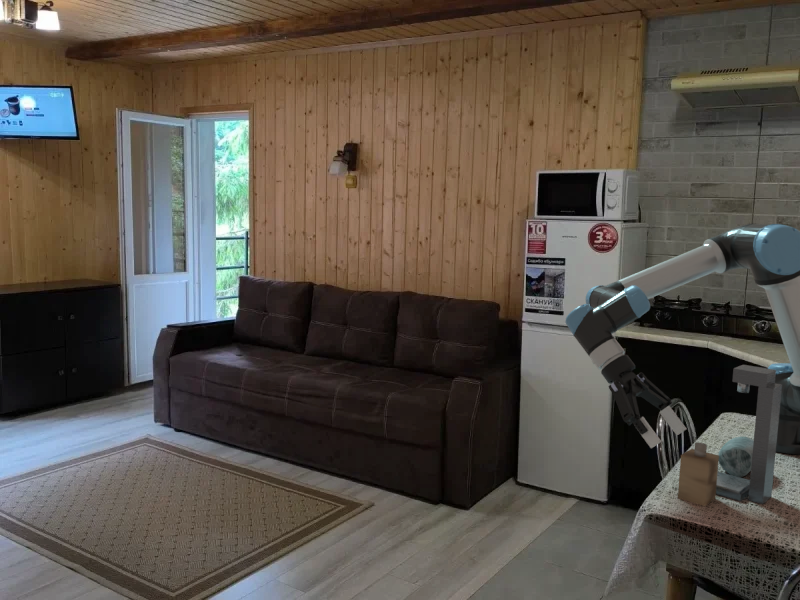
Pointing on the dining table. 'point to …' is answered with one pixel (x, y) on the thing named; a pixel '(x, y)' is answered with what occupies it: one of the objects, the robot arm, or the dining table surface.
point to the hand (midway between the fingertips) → (669, 438)
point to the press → (757, 437)
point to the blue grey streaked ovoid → (737, 456)
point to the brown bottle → (698, 475)
